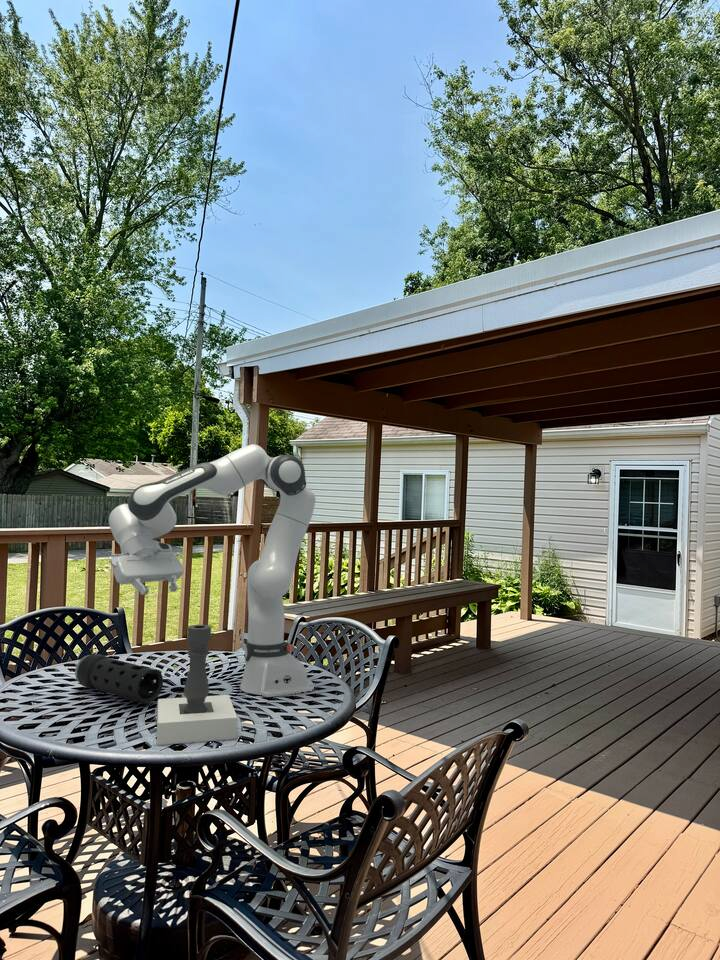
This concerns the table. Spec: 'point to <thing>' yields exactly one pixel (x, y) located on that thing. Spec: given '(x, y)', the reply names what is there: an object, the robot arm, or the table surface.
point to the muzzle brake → (119, 678)
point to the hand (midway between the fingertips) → (160, 591)
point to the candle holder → (197, 669)
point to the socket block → (195, 721)
